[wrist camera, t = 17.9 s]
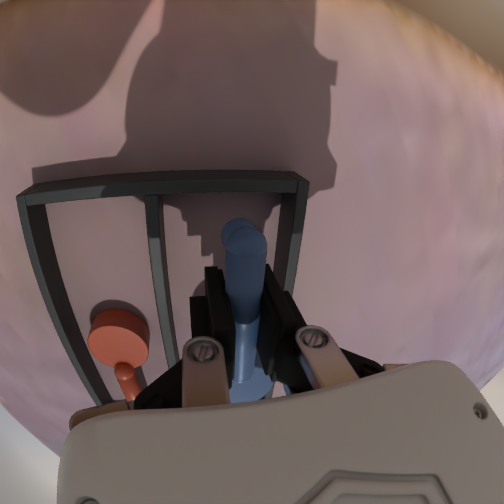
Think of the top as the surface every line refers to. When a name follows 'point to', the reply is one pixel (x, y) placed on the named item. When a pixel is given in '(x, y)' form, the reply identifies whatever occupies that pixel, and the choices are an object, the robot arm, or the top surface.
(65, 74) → the top surface
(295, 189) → the sorting tray
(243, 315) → the blue spoon
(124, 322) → the terracotta spoon
